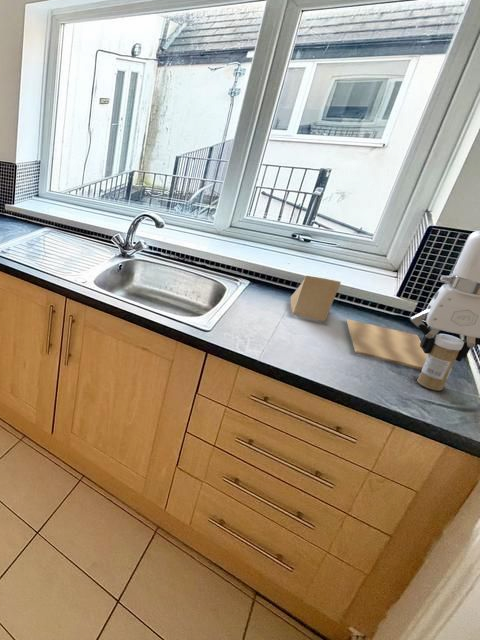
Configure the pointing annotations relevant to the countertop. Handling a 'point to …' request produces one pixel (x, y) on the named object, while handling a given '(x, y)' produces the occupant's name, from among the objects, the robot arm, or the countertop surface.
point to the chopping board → (387, 344)
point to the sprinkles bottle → (440, 361)
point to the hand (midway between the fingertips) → (440, 353)
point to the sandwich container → (314, 297)
